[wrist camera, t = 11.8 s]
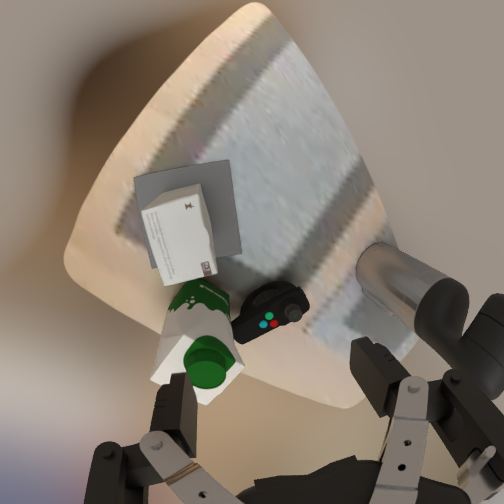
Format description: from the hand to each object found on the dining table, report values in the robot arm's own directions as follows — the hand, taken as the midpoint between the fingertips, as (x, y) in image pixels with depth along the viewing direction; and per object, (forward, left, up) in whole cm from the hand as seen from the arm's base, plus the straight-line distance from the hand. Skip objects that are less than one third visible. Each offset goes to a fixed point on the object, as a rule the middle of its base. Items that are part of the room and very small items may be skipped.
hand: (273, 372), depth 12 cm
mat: (+3, +6, -31) cm, 31 cm away
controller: (-12, -3, -31) cm, 33 cm away
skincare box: (+3, +5, -30) cm, 31 cm away
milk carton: (-11, +7, -31) cm, 33 cm away
